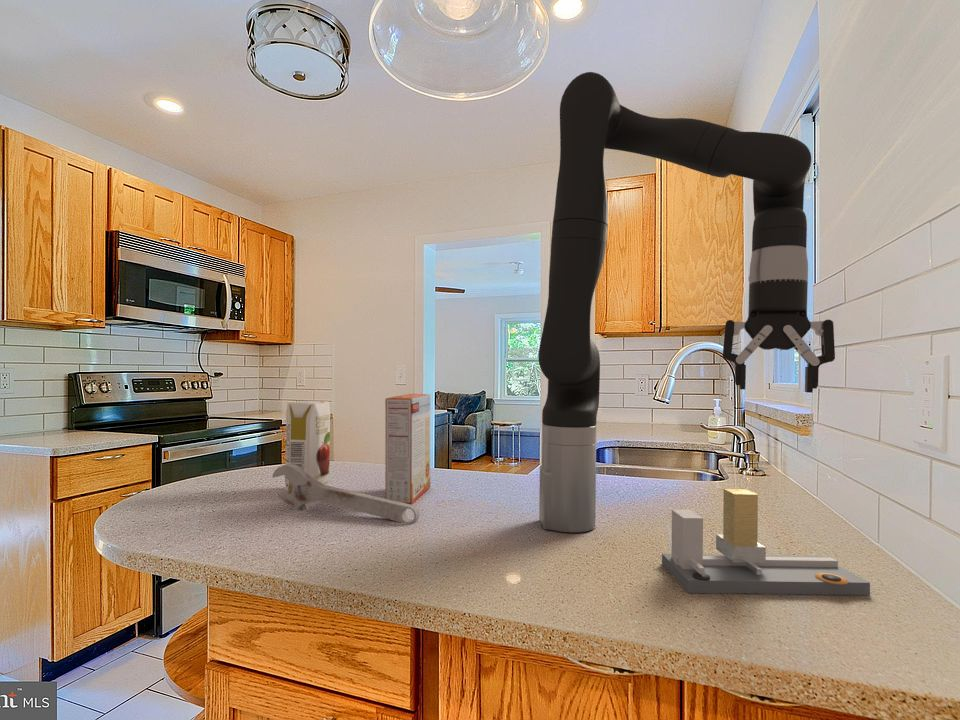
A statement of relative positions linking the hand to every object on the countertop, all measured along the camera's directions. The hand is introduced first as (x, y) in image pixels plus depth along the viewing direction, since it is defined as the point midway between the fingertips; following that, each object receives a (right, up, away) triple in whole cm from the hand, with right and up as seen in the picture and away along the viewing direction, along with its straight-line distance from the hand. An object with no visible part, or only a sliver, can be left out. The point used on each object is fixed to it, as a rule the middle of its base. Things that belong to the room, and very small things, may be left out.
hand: (774, 390), depth 77 cm
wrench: (-68, -24, +18) cm, 74 cm away
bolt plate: (-7, -24, -9) cm, 27 cm away
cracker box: (-58, -24, +32) cm, 71 cm away
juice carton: (-80, -24, +35) cm, 91 cm away
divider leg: (-9, -22, -9) cm, 26 cm away
